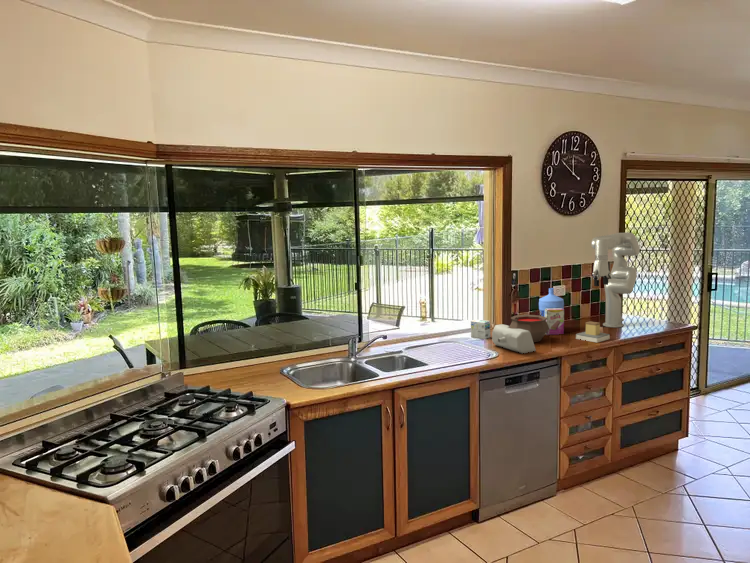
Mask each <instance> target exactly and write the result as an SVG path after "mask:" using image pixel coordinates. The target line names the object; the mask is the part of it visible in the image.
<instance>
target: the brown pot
mask: <svg viewBox="0 0 750 563" xmlns="http://www.w3.org/2000/svg"><path fill="white" fill-rule="evenodd" d="M540 313H541V312H540V311H539V312H538V313H537V314H538V315H535V314H521V315H520V314H519V315H514V316H511V317H510V319H511V323H510V325H509V326H510V327H508V328H512V329H524V330H528V331H529V332H530V333H531V336H532V339H533V343H537V342H538V343H539V342H540V341H542V339H544V337H545V336H546V332H547V331H548V330H549V327H548V324H547V322H546V319H547V318H546V317H544V315H543V316H541V315H542V313H541V315H540Z"/></svg>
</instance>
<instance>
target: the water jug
mask: <svg viewBox="0 0 750 563" xmlns="http://www.w3.org/2000/svg"><path fill="white" fill-rule="evenodd" d="M554 291H555V289H554V287H549V288H548V294H547V295H544V296H542V297H540V298H539V299H538V310H539V312H541V313H542V315H541V313H540V315H541V316H543V317H545V309H549V308H562V309H564V306H565V302H564V300H565V299H564V298H562V297H560V296H558V295H556V294H554V293H555V292H554ZM564 310H565V309H564Z"/></svg>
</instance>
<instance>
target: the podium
mask: <svg viewBox="0 0 750 563" xmlns="http://www.w3.org/2000/svg"><path fill="white" fill-rule="evenodd" d="M575 339H576V340H580V339H581V340H580V341H585V340H586V341H587V342H591V343H592V342H593V343H600V342H604V341H607V340H610V339H611V338H610V333H605V332H603V333H600V334H599V335H590V334H586V330H585V331H582V332H579V333H576V334H575Z"/></svg>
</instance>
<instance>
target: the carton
mask: <svg viewBox="0 0 750 563" xmlns="http://www.w3.org/2000/svg"><path fill="white" fill-rule="evenodd" d="M600 327H601V322H596V321H587V322H586V321H585V331H586V334H590V335H599V334H600Z"/></svg>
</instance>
